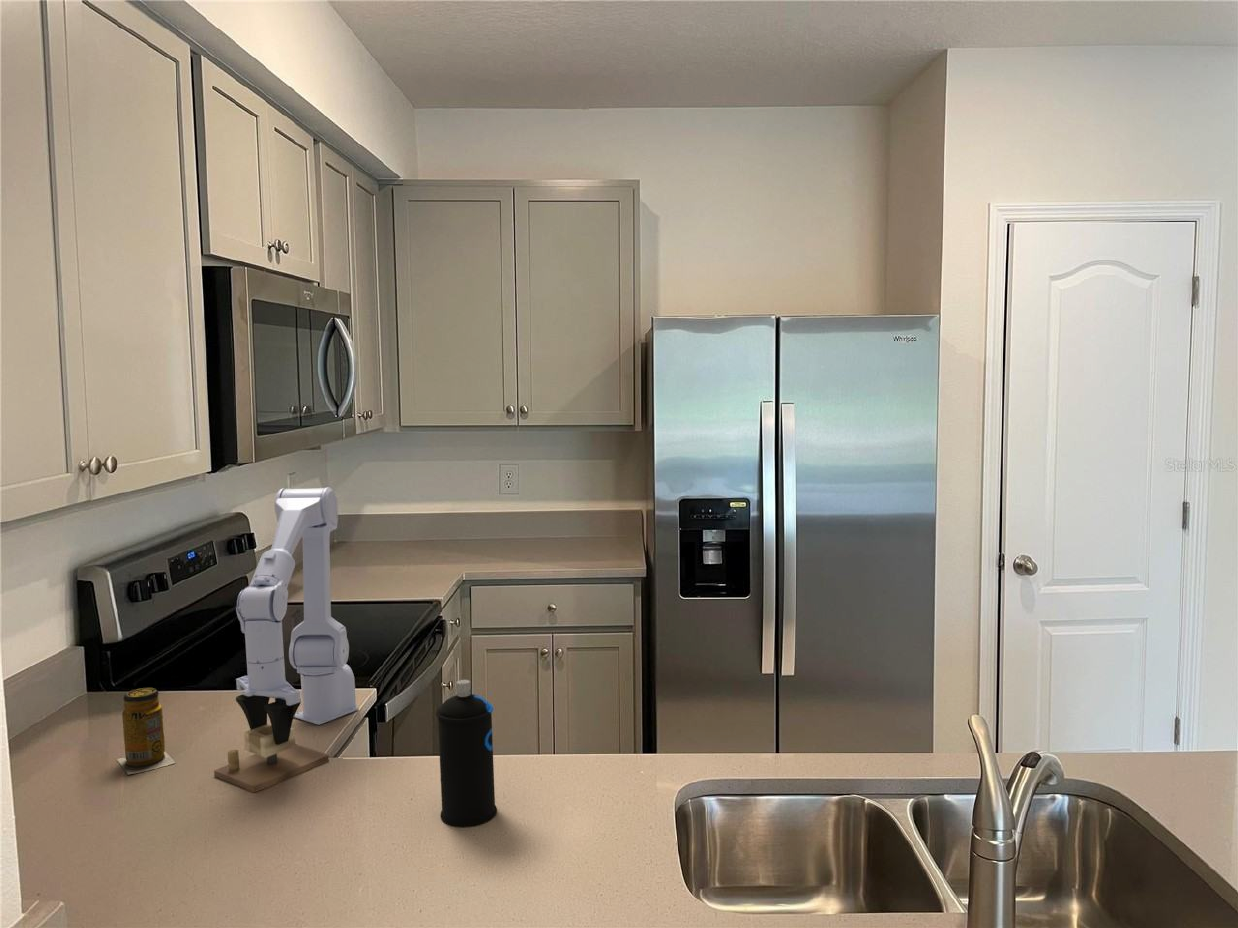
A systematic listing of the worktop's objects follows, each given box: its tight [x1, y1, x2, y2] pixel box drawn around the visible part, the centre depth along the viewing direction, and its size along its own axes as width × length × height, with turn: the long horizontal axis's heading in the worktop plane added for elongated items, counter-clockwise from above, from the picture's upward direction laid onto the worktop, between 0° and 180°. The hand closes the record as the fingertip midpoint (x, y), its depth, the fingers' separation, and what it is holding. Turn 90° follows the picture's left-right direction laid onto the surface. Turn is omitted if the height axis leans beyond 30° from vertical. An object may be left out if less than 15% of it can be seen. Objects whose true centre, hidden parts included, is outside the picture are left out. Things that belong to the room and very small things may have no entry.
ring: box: [243, 722, 296, 758], centre depth 154 cm, size 6×6×3 cm
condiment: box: [116, 687, 176, 775], centre depth 158 cm, size 7×8×12 cm
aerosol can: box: [435, 679, 498, 828], centre depth 137 cm, size 8×8×20 cm
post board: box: [213, 743, 330, 794], centre depth 155 cm, size 14×11×5 cm
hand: (270, 738), depth 155 cm, fingers closed on ring, 6 cm apart
